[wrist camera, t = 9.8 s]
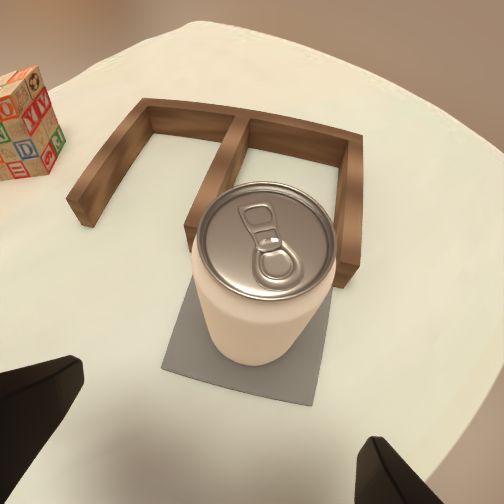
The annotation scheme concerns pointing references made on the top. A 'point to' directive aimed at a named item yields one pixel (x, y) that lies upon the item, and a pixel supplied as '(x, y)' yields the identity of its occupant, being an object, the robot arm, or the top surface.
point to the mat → (243, 376)
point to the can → (262, 268)
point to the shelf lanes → (230, 162)
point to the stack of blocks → (27, 126)
